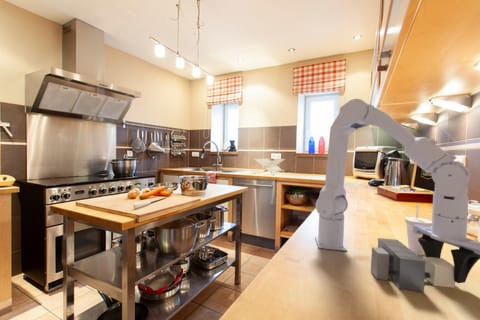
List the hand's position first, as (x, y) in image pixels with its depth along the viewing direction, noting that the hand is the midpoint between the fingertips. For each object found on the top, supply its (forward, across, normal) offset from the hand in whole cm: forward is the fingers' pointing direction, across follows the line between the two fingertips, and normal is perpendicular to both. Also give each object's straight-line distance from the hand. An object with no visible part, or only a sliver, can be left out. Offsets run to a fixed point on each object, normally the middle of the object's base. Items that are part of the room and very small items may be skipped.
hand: (446, 275), depth 50 cm
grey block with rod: (+1, -2, -7) cm, 7 cm away
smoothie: (+2, -14, +9) cm, 16 cm away
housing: (+1, -4, -9) cm, 10 cm away
